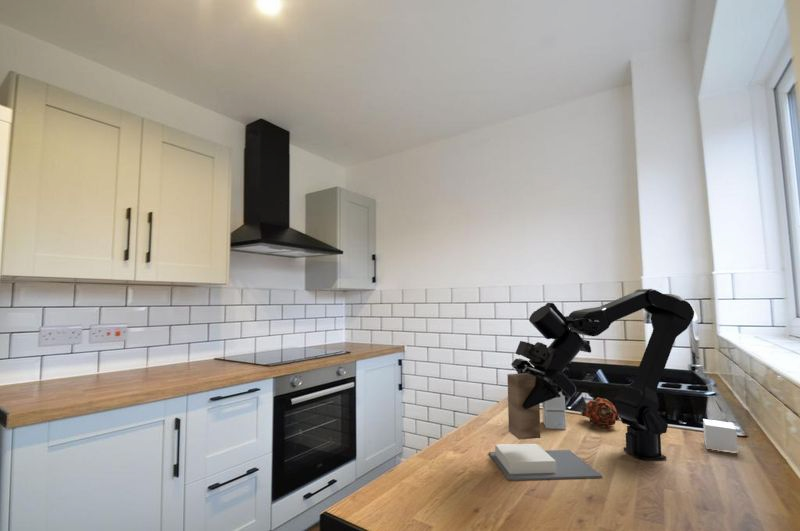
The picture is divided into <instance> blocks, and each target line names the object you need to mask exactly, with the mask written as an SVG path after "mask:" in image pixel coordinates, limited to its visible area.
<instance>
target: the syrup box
mask: <svg viewBox="0 0 800 531" xmlns="http://www.w3.org/2000/svg"><path fill="white" fill-rule="evenodd" d="M559 394H560V396H561V397H559V398H558V397H556V398H553V399H551V400H548V401H545V402H543V403H541V405H542V406H541V408H542V410H541V411H542V423H543V425H544V427H545V428H546V429H549V430H550V429H551V430H552V429H553V430H567V420H566V416H567V415H566V399H565V398H566V397H565V396H563V395H562V390H561V391H560V392H559Z"/></svg>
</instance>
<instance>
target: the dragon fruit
mask: <svg viewBox="0 0 800 531" xmlns="http://www.w3.org/2000/svg"><path fill="white" fill-rule="evenodd" d="M582 408H583V409H585V410H581V411H580V414H581V415H582V416H583V417H586V418H589V423H590V424H591V425H593V426H599V427H601V428H604V429H607V428H609V427H610V426H614V425H615V424H616V422H617V421H619V420H621V418H620V416H619V414H618V413H617V410H616V408H615V405H614V404H613V403H612V402H611V401H609V400H608V399H607V398H601V397H596V399H594V400H588V401H587V403H585V406H584V407H582Z"/></svg>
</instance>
